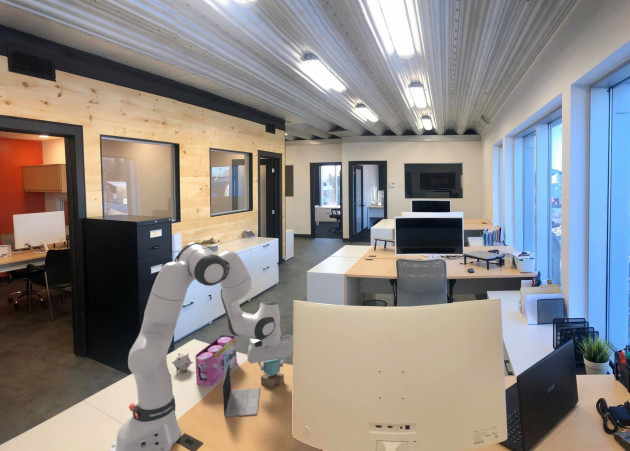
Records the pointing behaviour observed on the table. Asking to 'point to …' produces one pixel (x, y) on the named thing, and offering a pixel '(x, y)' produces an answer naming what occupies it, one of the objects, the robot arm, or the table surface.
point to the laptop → (239, 399)
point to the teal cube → (271, 366)
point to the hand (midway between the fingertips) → (271, 368)
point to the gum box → (215, 360)
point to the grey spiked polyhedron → (182, 362)
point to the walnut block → (272, 380)
